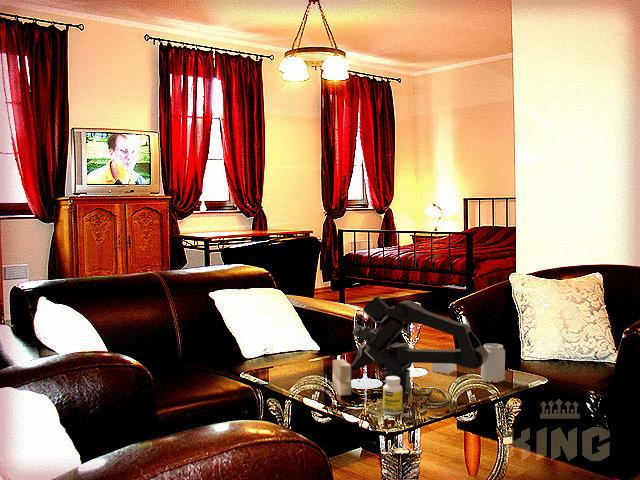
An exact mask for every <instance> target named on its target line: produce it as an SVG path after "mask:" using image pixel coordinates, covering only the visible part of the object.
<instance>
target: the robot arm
mask: <svg viewBox="0 0 640 480" xmlns="http://www.w3.org/2000/svg"><path fill="white" fill-rule="evenodd" d="M362 312H364V314H366V315H367V317H369V318H370V319H371V320H372V321H373V322H374V323H375V324H377V323H380V324H381V325H380V326H379V327H378V328H376V327H374V328H373V329H372V330H371V328H370V327H367V326H366V325H364V326H362V325H361V324H358V323H355V326H354V328H353V331H352V333H351V334H353V336H355V337H357V338H358V337H360V338H363V339H364V340H365V341H366V342H367V344H365V343H364V342H363V344H362V345H360V344H359V342H361V339H360V340H358V341H356V342H357V344H358V345H357V348H358V349H357V351H358V353H357V354H356V356H355V359H354V360H353V362H352V363H351V372H354V371H356V370H359V369H362V368H364V367H367V366H369V365H372V364H376V363H378V364H377V365H379V366H383V365H384V368H385V371H386V374H385V378H386V377H388V376H397V377H399V378H400V384H399V385H401V386H402V394H405V393H407V392H408V391H410V390H411V389H413V388H412V386H411V383H410V382H411V381H410V380H411V378H410V377H411V370H410V369H411V367H412V364H414V363H416V364H432V363H445V364H456V365H455V366H459V367H462V368H466V369H470V370H477V369H479V368H481V366H482V365H483V364H484V363H485V362H486V361H487V359H488V352H487V350H486V349H485V348H484V345H482V344H481V342H480V340H479V338H477V337H476V335H475V334H474V333H473V331H472V329H471V328H470V326H469V325H468V324H467V323H464V322H459V321H456V320H453V319H451V318H448V317H445V316H442V315H440V314H436V313H433V312H431V311H428V310H426V309H425V308H423V307H422V306H421V305H419V304H418V303H416V302H414V301H413V300H410V299H408V300H403V301H401V302H398V303H397V304H396V305H392V306H389V305H388V304H387V303H386V302H385V301H383V299H382V298H381V297H380V296H379V295H376V296H375V297H374V298H373V299H371V300H370V301H369V302H368V303H367V304H366V305H365V306H364V307H363V309H362ZM410 324H419V325H422V326H425V327H429V328H431V329H434V330H436V331H439V332H442V333H445V334H447V335H450V336H454V337H455V339H456V340H457V344H458V346H459V348H456V349H449V348H448V349H441V348H440V349H437V348H435V349H434V348H412V347H409V342H402V343H400V342H397V341H396V342H395V343H393V342H392V341H393V340H394V339H396V337H397V336H398V335H399V334H400V333H401V332H402V331H404V332H405V333H406V334H409V332H410V331H409V329H410V328H409V327H410ZM387 346H388V347H387ZM386 384H387V383H386V382H385V385H386Z"/></svg>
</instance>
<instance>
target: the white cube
mask: <svg viewBox="0 0 640 480" xmlns="http://www.w3.org/2000/svg"><path fill="white" fill-rule="evenodd" d="M456 366H457V365H456V364H445V363H431V372H432V371H434V372H433V373H437V372H440V373H439V374H442V373H446V374H445V375H450V374H451V373H450V372H452V371H454V370H455V371H456ZM455 371H454V372H455ZM449 373H450V374H449ZM452 373H453V372H452Z"/></svg>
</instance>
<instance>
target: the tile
mask: <svg viewBox="0 0 640 480" xmlns="http://www.w3.org/2000/svg"><path fill="white" fill-rule="evenodd" d="M351 366H352V364H351V363H349V362H348V361H346V360H345V359H342V358H341V359H333V360H332V390H334V391H335V392H336V393H337V394H338V395H339V396H349V395H350V396H351V395H352V370H351Z"/></svg>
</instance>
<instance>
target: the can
mask: <svg viewBox="0 0 640 480" xmlns="http://www.w3.org/2000/svg"><path fill="white" fill-rule="evenodd" d="M483 347H484V348H485V349H486V350H487V352H488V359H487V361H486V362H485V363H484V364H483V365H482V366H480V379H481V380H482V381H483V380H486V381H493V382H498V381H502V382H504V381H505V378H506V377H505V373H506V372H505V370H506V369H505V368H506V367H505V366H506V350H505V348H504V345H502V344H499V343H484V344H483ZM503 380H504V381H503Z"/></svg>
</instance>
